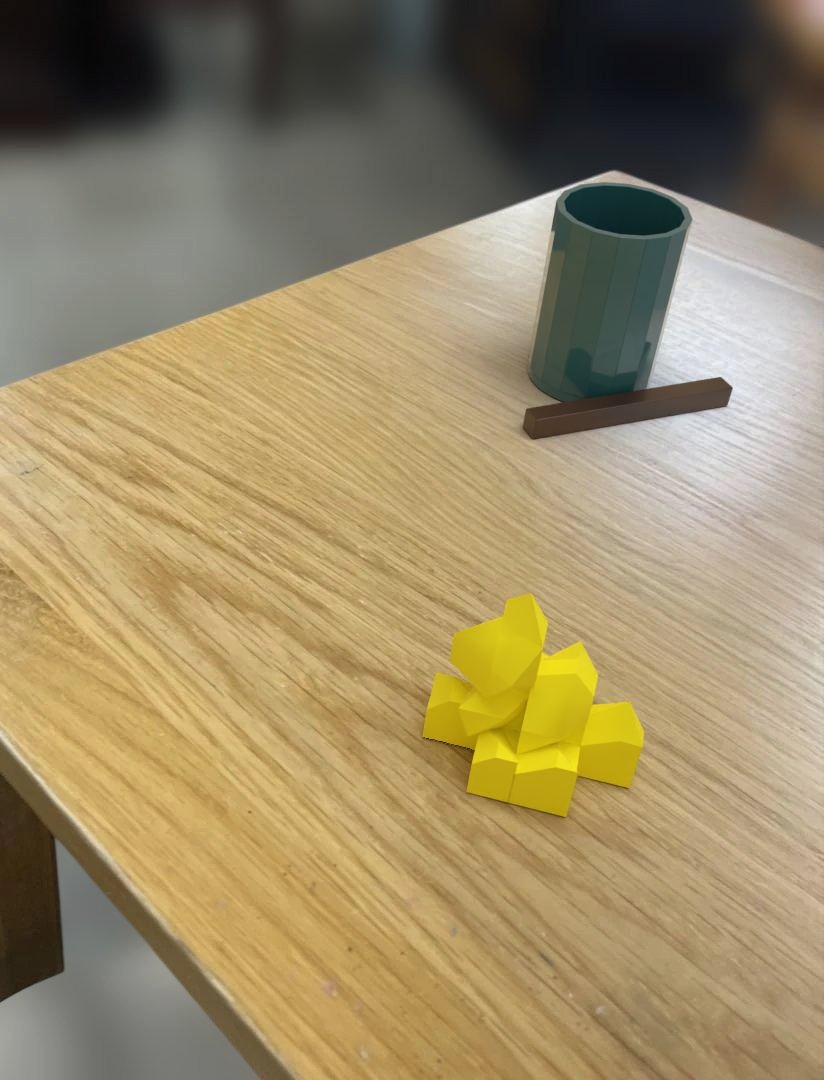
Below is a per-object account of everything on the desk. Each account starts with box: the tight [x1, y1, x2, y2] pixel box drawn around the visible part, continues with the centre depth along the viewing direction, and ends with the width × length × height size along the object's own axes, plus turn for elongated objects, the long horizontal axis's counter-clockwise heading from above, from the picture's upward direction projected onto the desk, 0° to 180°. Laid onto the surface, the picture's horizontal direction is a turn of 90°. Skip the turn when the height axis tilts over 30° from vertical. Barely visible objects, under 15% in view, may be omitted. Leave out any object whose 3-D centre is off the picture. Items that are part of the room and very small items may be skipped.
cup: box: [527, 181, 694, 403], centre depth 66 cm, size 7×7×10 cm
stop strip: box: [522, 376, 734, 440], centre depth 66 cm, size 12×1×1 cm, turn 108°
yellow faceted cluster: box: [422, 592, 645, 818], centre depth 45 cm, size 6×8×8 cm
